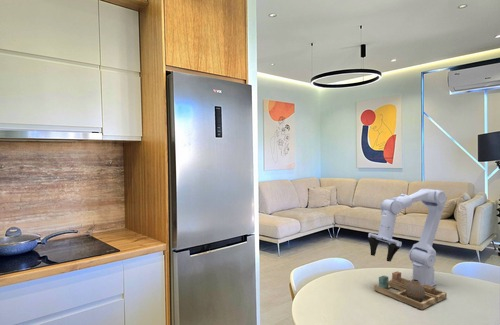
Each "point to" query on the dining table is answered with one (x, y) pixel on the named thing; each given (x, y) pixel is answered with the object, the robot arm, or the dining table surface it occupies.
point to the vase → (415, 291)
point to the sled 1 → (401, 293)
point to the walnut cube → (429, 289)
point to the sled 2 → (440, 295)
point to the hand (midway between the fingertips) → (380, 258)
